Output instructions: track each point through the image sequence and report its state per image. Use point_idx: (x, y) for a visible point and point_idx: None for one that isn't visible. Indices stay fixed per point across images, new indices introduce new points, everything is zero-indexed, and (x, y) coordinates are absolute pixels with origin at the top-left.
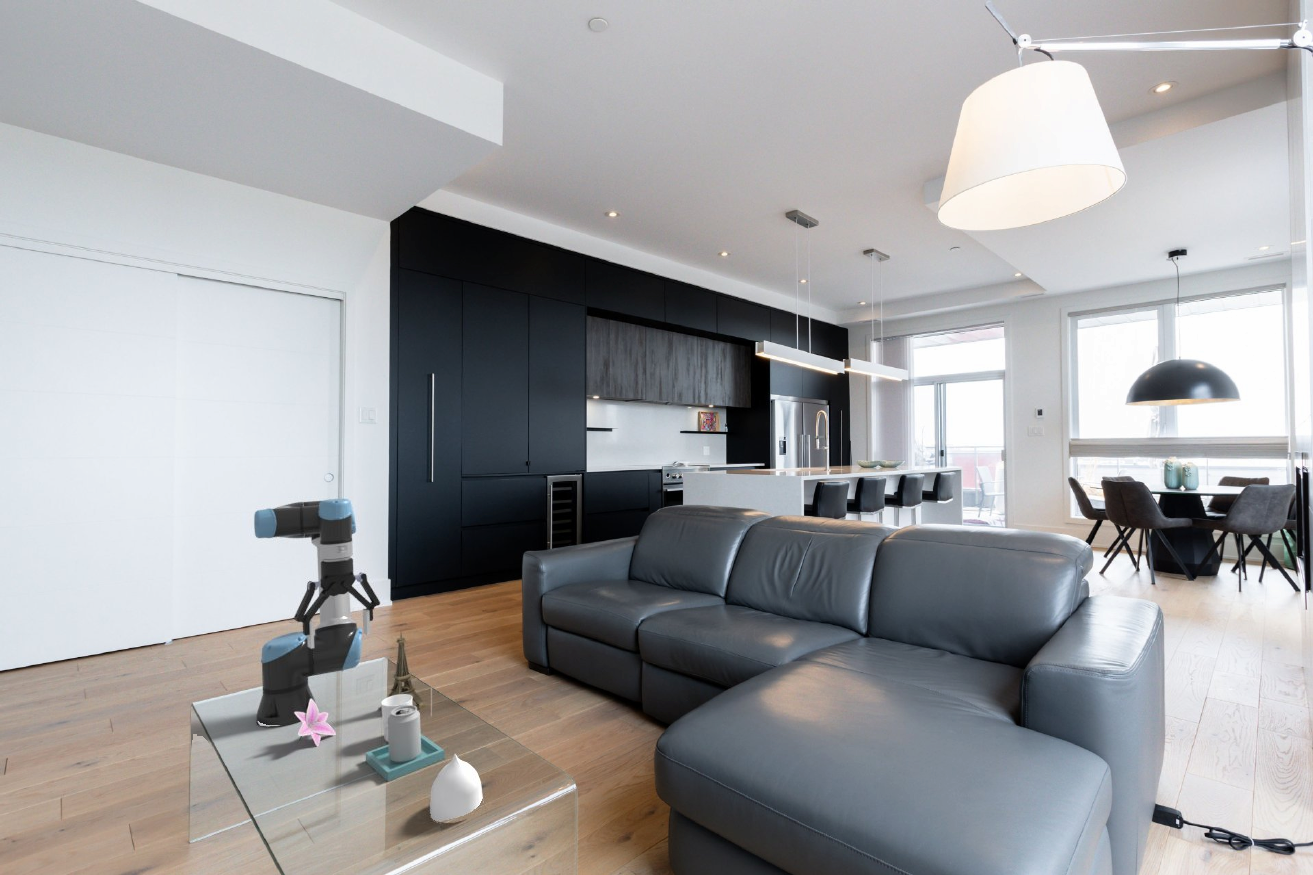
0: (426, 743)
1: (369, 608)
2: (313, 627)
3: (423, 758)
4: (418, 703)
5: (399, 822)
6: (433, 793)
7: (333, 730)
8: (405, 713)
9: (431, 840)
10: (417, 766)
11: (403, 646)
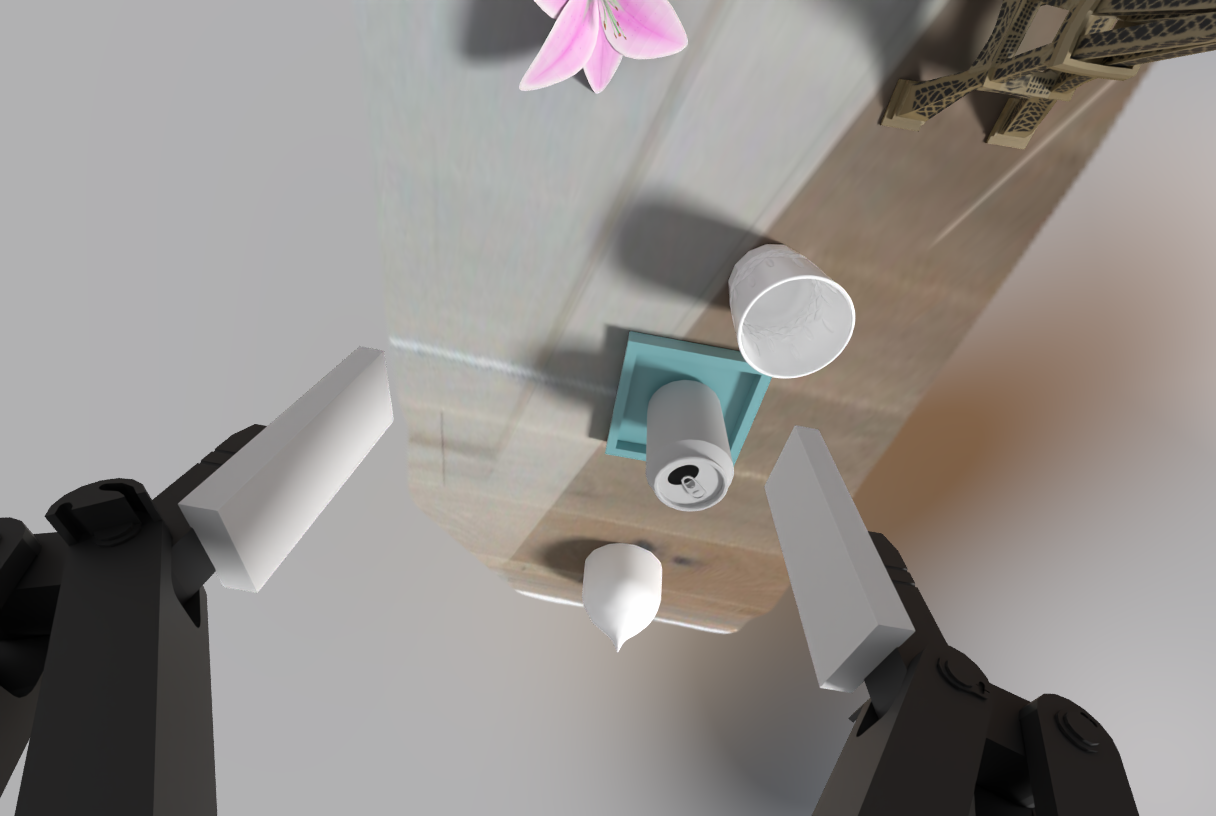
0: (743, 414)
1: (868, 710)
2: (295, 542)
3: None
4: (1008, 128)
5: (552, 536)
6: (583, 596)
7: (683, 35)
8: (686, 490)
9: (558, 584)
10: None
11: None
